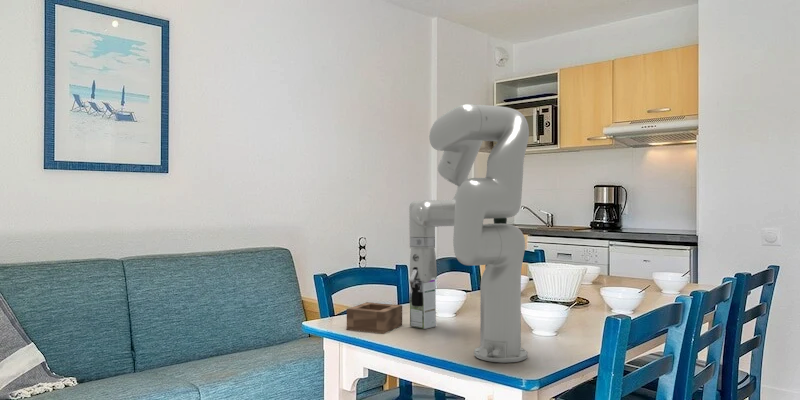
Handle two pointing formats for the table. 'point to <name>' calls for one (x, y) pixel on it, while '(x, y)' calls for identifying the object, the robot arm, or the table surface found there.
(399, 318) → the socket block
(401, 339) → the table surface
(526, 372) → the table surface
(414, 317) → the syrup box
